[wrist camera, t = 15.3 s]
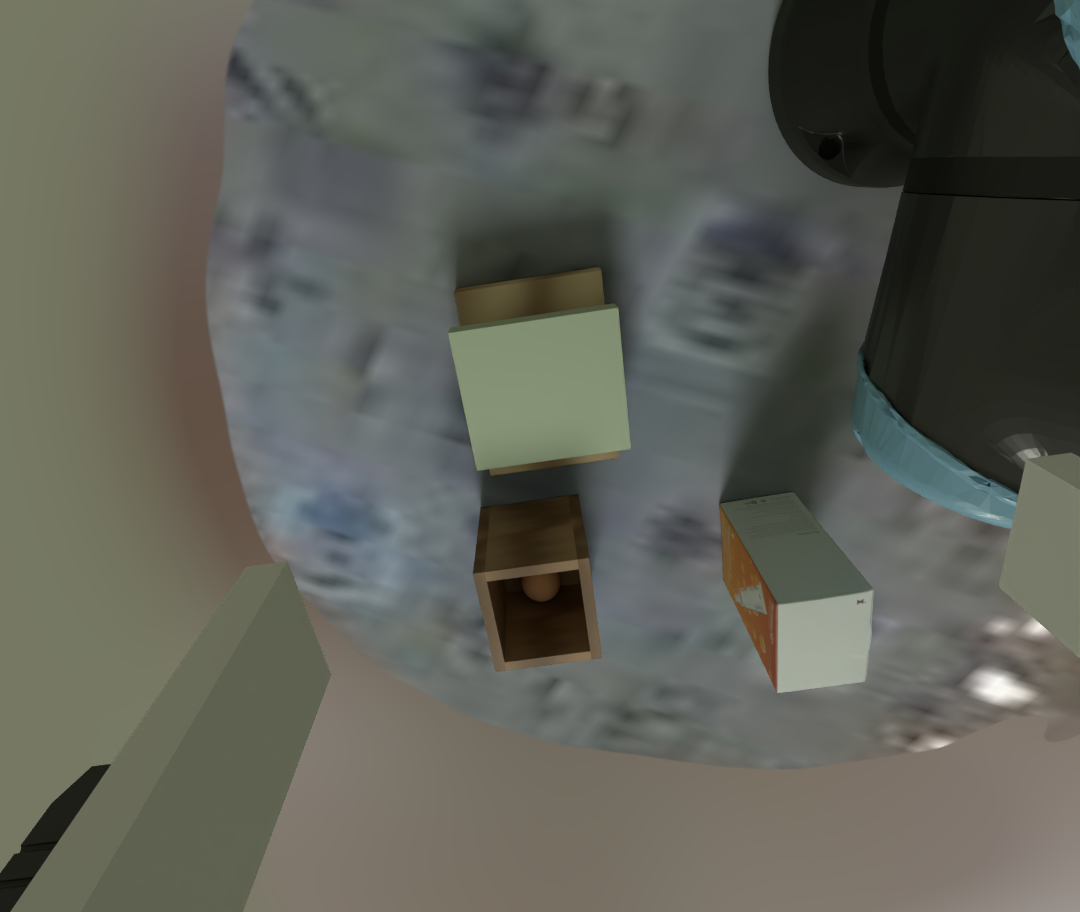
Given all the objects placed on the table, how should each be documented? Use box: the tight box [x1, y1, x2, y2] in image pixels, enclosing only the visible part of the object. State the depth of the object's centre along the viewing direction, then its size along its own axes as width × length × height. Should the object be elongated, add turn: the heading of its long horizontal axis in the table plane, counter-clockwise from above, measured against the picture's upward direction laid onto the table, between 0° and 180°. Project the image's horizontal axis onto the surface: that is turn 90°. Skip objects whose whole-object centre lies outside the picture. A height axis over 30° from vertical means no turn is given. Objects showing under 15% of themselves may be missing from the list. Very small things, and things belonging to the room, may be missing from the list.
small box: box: [719, 492, 874, 693], centre depth 47 cm, size 8×6×13 cm
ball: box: [522, 572, 560, 602], centre depth 51 cm, size 3×3×3 cm
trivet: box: [454, 267, 620, 476], centre depth 45 cm, size 10×14×2 cm
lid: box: [448, 303, 631, 471], centre depth 43 cm, size 11×10×3 cm
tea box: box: [473, 494, 602, 672], centre depth 48 cm, size 8×9×9 cm
